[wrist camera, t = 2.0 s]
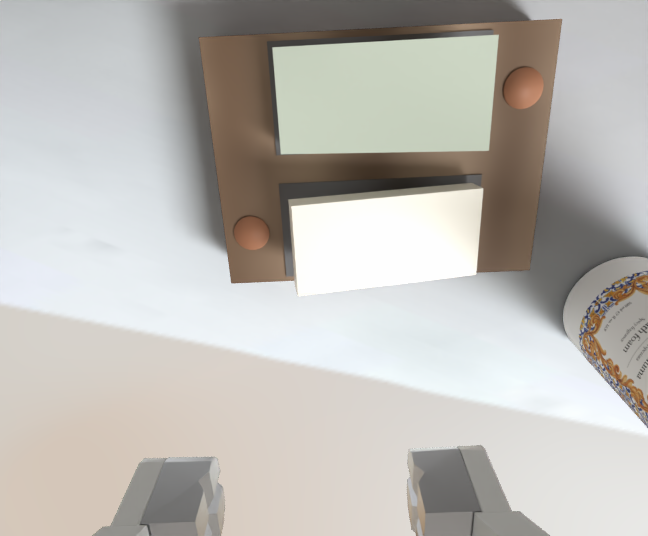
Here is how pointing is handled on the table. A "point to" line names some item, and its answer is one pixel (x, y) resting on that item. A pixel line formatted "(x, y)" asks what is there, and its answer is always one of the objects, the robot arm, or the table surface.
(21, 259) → the table surface
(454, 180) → the switch plate
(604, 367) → the bath foam
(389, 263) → the block
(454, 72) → the block
